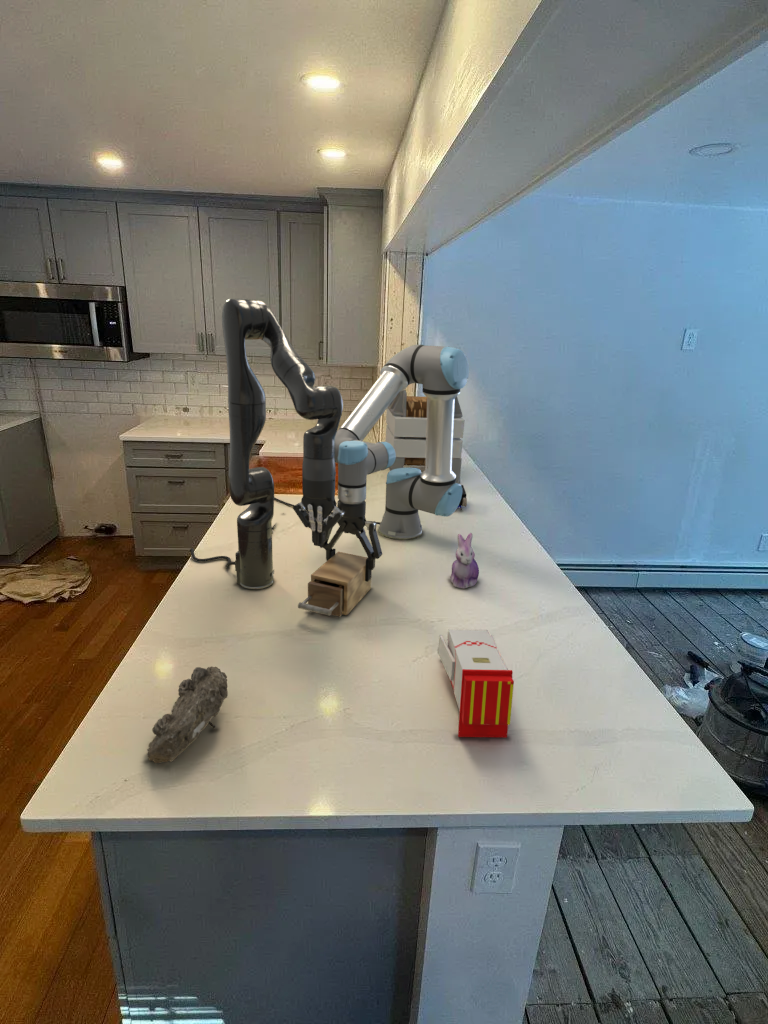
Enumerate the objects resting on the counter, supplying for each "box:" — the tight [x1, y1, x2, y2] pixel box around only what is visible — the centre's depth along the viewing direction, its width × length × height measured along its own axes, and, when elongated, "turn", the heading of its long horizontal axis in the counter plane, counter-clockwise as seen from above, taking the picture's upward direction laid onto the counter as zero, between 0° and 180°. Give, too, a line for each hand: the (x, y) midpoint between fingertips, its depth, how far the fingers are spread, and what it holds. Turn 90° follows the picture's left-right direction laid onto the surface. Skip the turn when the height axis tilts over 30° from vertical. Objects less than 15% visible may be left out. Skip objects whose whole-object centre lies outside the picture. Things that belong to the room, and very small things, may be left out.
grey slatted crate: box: [384, 389, 465, 484], centre depth 268 cm, size 34×33×41 cm
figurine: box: [450, 532, 480, 589], centre depth 164 cm, size 9×10×15 cm
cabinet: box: [310, 551, 372, 616], centre depth 153 cm, size 16×10×10 cm, turn 159°
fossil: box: [146, 666, 229, 764], centre depth 104 cm, size 22×10×15 cm
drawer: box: [297, 580, 344, 617], centre depth 147 cm, size 21×9×7 cm, turn 159°
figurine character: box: [457, 484, 468, 511], centre depth 230 cm, size 7×8×15 cm
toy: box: [437, 628, 515, 738], centre depth 117 cm, size 12×13×30 cm
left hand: (318, 544), depth 135 cm, fingers closed
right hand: (349, 575), depth 157 cm, fingers closed on cabinet, 10 cm apart
